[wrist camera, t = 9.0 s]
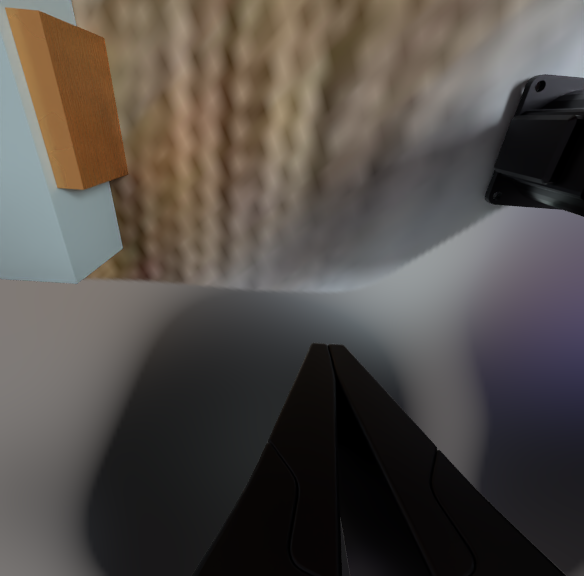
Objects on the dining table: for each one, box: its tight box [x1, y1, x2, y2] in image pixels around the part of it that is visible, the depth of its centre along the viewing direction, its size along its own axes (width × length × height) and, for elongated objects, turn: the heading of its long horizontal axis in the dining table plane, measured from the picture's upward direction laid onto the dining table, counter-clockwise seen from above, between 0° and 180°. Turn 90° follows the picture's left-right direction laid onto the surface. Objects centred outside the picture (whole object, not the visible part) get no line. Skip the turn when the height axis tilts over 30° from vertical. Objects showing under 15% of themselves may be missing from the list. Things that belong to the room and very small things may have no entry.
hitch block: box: [0, 0, 123, 284], centre depth 14 cm, size 4×16×5 cm, turn 176°
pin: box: [5, 7, 128, 190], centre depth 15 cm, size 7×6×4 cm
